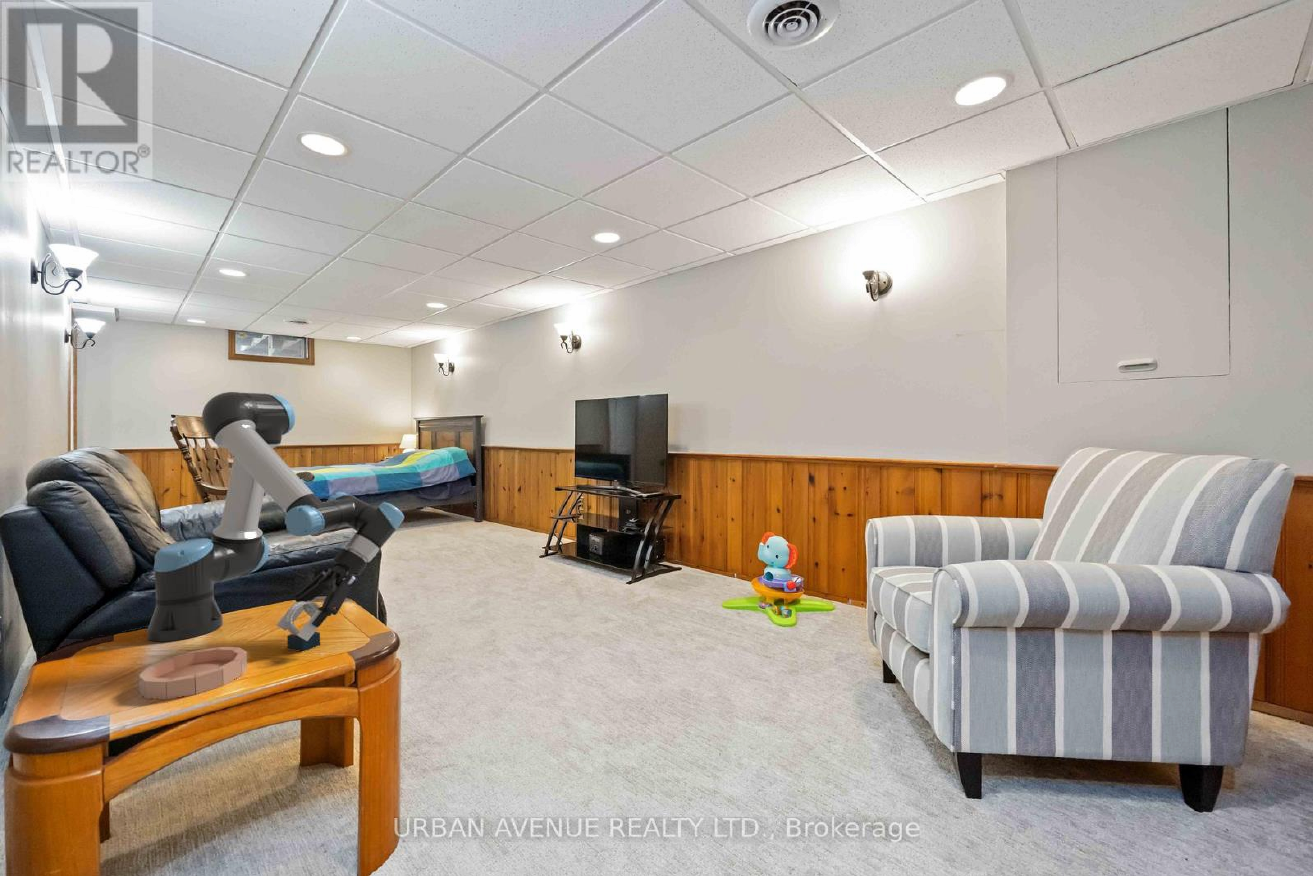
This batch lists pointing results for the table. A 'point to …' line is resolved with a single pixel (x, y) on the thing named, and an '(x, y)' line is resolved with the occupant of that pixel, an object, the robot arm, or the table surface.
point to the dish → (192, 672)
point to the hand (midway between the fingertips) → (291, 633)
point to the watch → (293, 639)
